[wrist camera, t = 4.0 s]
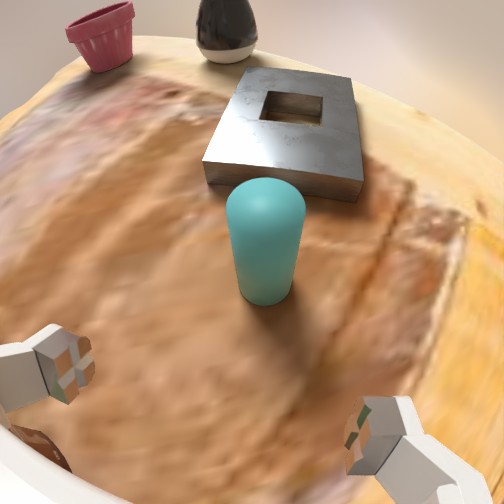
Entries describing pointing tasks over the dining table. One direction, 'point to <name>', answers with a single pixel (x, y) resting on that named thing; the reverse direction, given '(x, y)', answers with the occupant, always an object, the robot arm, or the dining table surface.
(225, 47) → the pump dispenser
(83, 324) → the dining table surface
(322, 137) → the socket plate
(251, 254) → the teal peg
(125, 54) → the plant pot
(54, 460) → the food container
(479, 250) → the dining table surface
